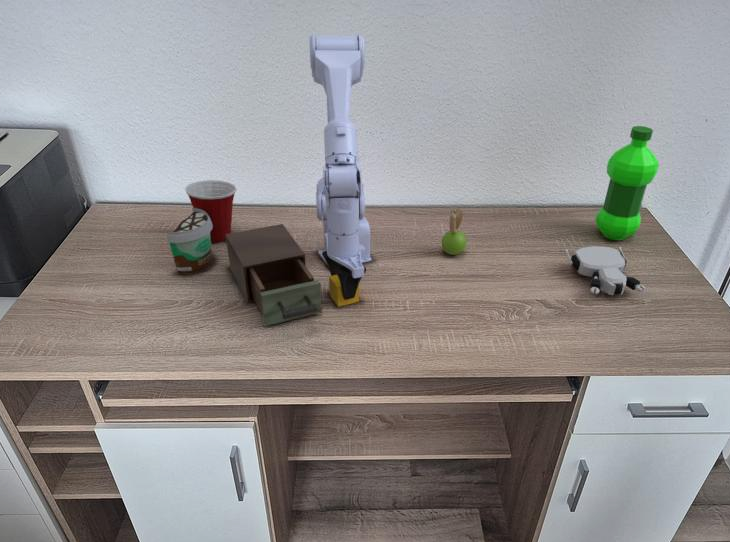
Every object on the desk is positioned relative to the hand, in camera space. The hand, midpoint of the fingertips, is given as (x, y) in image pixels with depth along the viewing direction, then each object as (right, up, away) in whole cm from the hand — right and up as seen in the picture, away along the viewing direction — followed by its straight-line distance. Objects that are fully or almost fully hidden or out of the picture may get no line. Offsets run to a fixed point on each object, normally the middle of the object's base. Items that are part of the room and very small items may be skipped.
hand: (344, 291), depth 120 cm
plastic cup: (-30, +13, +21) cm, 39 cm away
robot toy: (+53, +2, +9) cm, 54 cm away
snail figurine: (+23, +9, +16) cm, 29 cm away
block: (0, -1, +1) cm, 2 cm away
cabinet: (-16, +3, +6) cm, 17 cm away
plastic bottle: (+62, +14, +26) cm, 69 cm away
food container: (-31, +6, +10) cm, 33 cm away
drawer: (-11, -3, -3) cm, 12 cm away
